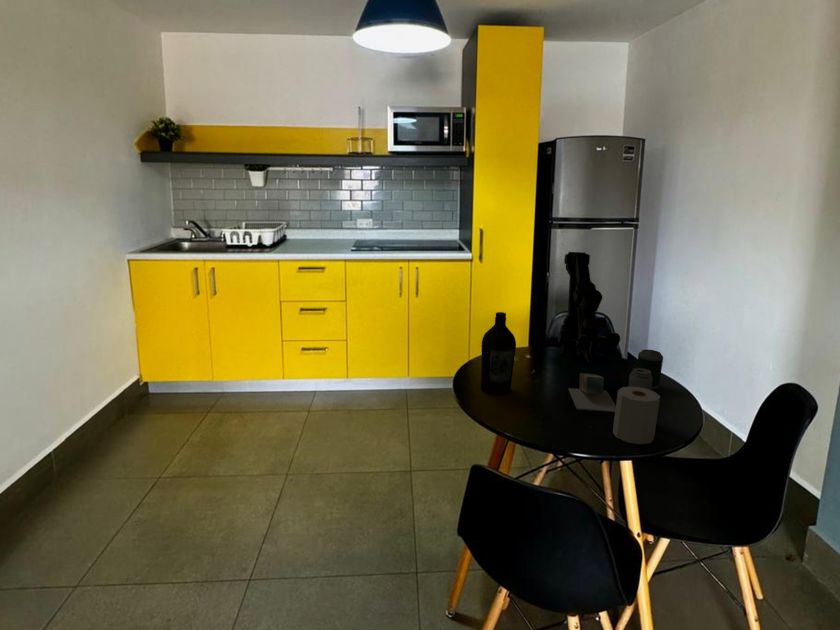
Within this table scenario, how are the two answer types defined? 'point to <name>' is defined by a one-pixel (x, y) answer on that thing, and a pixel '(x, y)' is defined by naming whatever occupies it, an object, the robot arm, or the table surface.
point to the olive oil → (497, 358)
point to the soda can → (651, 364)
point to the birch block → (591, 383)
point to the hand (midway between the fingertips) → (590, 362)
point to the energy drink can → (641, 378)
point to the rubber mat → (592, 401)
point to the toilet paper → (636, 415)
